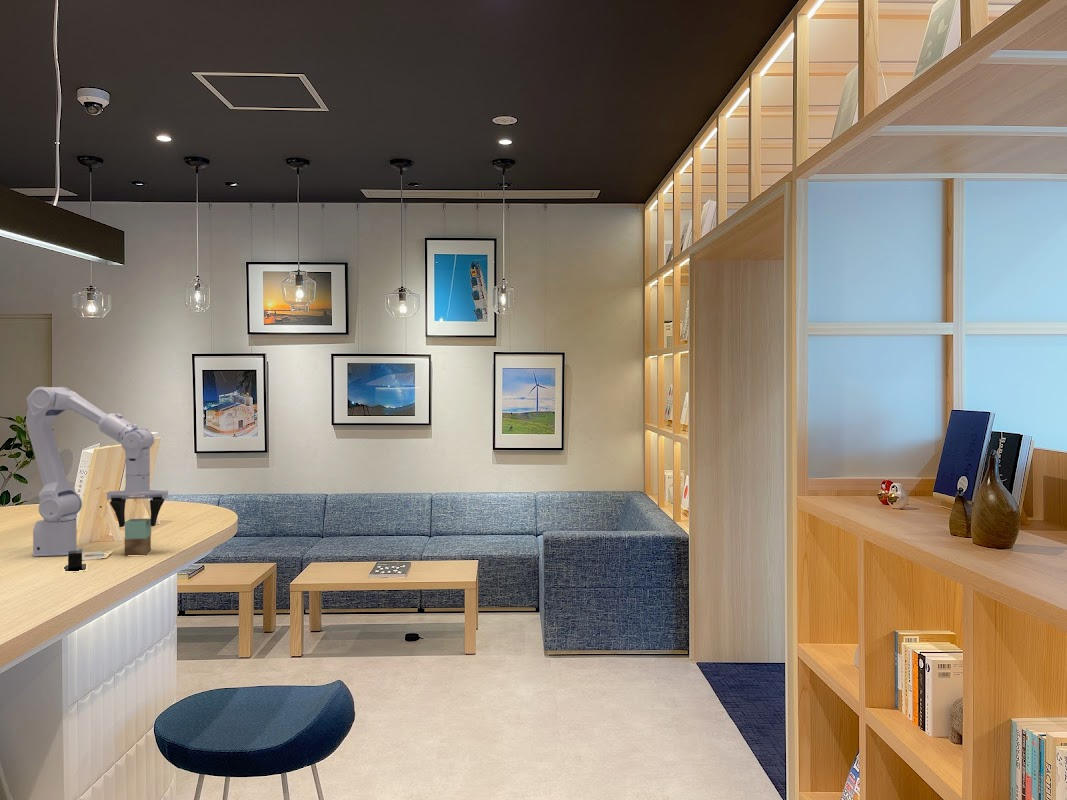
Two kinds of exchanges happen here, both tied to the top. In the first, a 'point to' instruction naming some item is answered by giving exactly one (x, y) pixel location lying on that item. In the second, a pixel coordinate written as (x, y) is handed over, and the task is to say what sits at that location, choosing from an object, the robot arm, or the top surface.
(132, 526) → the teal block
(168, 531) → the top surface
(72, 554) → the black block with base
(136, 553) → the walnut block
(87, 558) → the page
